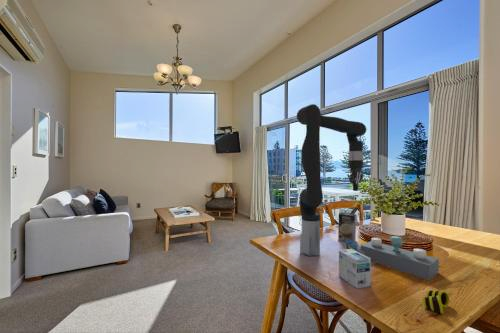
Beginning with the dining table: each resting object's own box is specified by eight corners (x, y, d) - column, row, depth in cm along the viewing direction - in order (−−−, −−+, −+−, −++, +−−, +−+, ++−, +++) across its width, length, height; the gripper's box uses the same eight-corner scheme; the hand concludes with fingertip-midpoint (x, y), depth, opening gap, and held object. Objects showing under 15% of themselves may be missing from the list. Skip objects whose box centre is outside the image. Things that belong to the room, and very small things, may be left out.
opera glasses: (431, 301, 80) (428, 285, 80) (451, 305, 76) (447, 288, 77) (423, 312, 74) (419, 295, 74) (444, 317, 70) (440, 299, 70)
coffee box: (337, 240, 139) (337, 214, 139) (339, 237, 145) (340, 212, 144) (354, 243, 134) (354, 215, 134) (356, 240, 140) (356, 213, 140)
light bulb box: (371, 286, 87) (371, 257, 87) (356, 289, 85) (357, 260, 85) (351, 273, 98) (351, 248, 97) (337, 275, 96) (338, 249, 95)
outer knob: (423, 271, 96) (423, 253, 96) (411, 267, 100) (411, 249, 100) (427, 268, 99) (427, 250, 99) (415, 264, 102) (415, 247, 102)
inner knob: (378, 257, 111) (378, 241, 111) (369, 254, 114) (369, 238, 114) (383, 254, 113) (383, 239, 113) (374, 252, 117) (374, 237, 117)
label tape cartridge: (365, 272, 99) (365, 243, 99) (357, 273, 98) (357, 243, 98) (352, 263, 107) (353, 236, 107) (345, 264, 107) (345, 237, 107)
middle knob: (399, 256, 103) (399, 239, 103) (389, 253, 107) (389, 237, 107) (403, 254, 106) (404, 238, 106) (393, 251, 110) (393, 235, 109)
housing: (429, 280, 92) (429, 265, 92) (360, 257, 115) (360, 245, 115) (438, 272, 98) (438, 258, 98) (371, 252, 121) (371, 240, 121)
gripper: (355, 159, 136) (355, 189, 137) (342, 159, 129) (342, 190, 129) (368, 159, 130) (368, 190, 131) (355, 159, 123) (355, 192, 123)
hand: (355, 190), depth 130 cm, fingers closed
